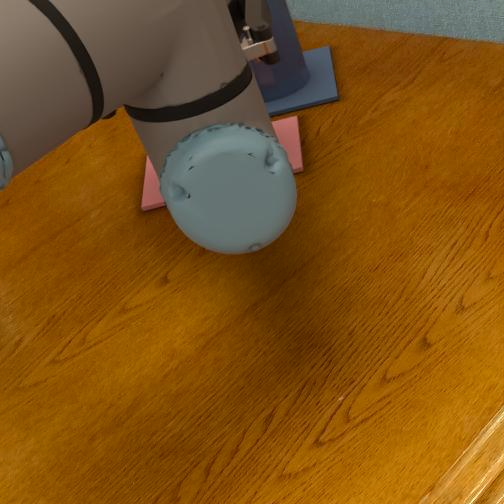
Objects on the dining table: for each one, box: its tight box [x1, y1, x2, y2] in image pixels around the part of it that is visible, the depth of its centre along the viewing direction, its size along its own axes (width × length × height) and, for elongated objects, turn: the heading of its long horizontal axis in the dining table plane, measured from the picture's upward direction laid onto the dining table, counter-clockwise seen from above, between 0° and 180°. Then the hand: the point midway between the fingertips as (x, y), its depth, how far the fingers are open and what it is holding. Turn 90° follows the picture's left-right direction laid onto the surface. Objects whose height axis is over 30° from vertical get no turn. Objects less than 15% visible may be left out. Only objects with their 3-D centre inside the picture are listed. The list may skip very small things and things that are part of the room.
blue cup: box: [239, 0, 310, 103], centre depth 94 cm, size 7×7×9 cm
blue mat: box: [265, 45, 340, 118], centre depth 97 cm, size 12×12×1 cm
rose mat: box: [140, 115, 304, 212], centre depth 88 cm, size 14×10×1 cm
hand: (156, 0), depth 82 cm, fingers closed on cupcake, 8 cm apart
